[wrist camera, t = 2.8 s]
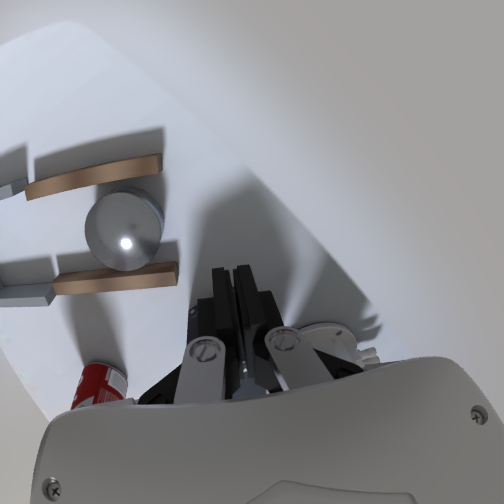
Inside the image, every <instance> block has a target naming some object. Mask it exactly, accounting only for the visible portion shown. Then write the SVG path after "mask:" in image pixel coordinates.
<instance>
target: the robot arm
mask: <svg viewBox="0 0 504 504" xmlns="http://www.w3.org/2000/svg"><path fill="white" fill-rule="evenodd" d="M212 279H213V294H214V297H212V298H203V299H198V338H196V339H194V340H193V341H191V342H190V343H189V344H188V345H187V347H186V349H185V353H184V357H183V361H182V364H181V365H179V366H178V367H177V368H176V369H174V370H173V371H172V372H171V373H169V374H168V375H167V376H165V377H164V378H163V379H162V380H160V381H159V382H158V383H157V384H155V385H154V386H153V387H151V388H150V389H149V390H148V391H146V392H145V393H144V394H143V395H142V396H141V397H140V399H137V400H134V399H133V398H128V399H122V400H117V401H111V402H105V403H98V404H92V405H88V406H85V407H81V408H77V409H73V410H70V411H67V412H64V413H62V414H60V415H58V416H56V417H55V418H54V419H53V420H52V421H51V422H50V423H49V425H48V427H47V428H46V430H45V433H44V435H43V438H42V440H41V443H40V447H39V450H38V454H37V459H36V463H35V468H34V473H33V480H32V488H31V498H30V504H504V424H503V423H502V421H501V419H500V418H499V416H498V415H497V413H496V411H495V410H494V408H493V407H492V405H491V404H490V402H489V401H488V399H487V398H486V397H485V395H484V394H483V392H482V391H481V390H480V389H479V387H478V386H477V384H476V383H475V382H474V381H473V380H472V378H471V377H470V376H469V375H468V374H467V373H466V372H465V371H464V370H463V368H461V367H460V366H459V365H458V364H457V363H455V362H454V361H452V360H451V359H448V358H444V357H436V356H435V357H419V358H412V359H408V360H402V361H394V362H385V363H380V359H379V357H378V356H377V355H376V349H375V348H374V347H371V348H368V349H365V350H362V351H360V350H359V349H358V350H357V342H356V339H355V337H354V335H353V333H352V332H351V331H350V330H349V329H348V328H347V327H345V326H343V325H341V324H337V323H318V324H313V325H310V326H307V327H304V328H301V329H299V330H297V329H296V328H293V327H289V326H284V324H283V321H282V318H281V316H280V313H279V310H278V308H277V305H276V303H275V300H274V297H273V295H272V292H271V291H262V292H258V290H257V287H256V284H255V281H254V278H253V274H252V271H251V268H250V265H249V264H248V265H240V266H237V269H233V279H234V289H235V300H236V307H235V301H234V296H233V290H232V284H231V279H230V273H229V270H224V267H222V268H213V269H212ZM236 310H237V312H236ZM240 337H241V340H240ZM241 342H242V347H243V353H244V358H245V363H246V368H247V373H248V378H249V379H250V378H254V383H255V385H259V386H261V387H263V388H265V391H266V394H264V395H258V396H251V397H244V398H237V399H234V397H233V394H234V393H235V392H236V391H237V390H238V389H239V388H240V387H241V385H240V380H242V379H244V369H243V360H242V350H241ZM362 359H363V360H362Z"/></svg>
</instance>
